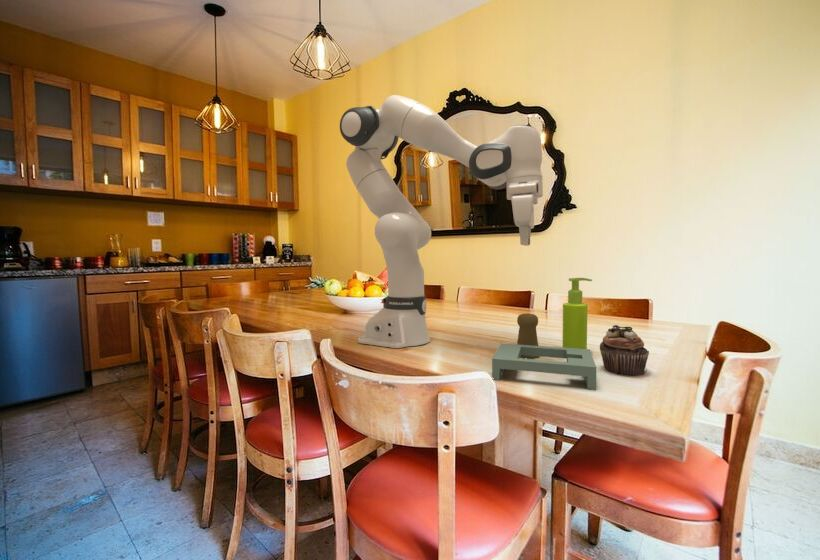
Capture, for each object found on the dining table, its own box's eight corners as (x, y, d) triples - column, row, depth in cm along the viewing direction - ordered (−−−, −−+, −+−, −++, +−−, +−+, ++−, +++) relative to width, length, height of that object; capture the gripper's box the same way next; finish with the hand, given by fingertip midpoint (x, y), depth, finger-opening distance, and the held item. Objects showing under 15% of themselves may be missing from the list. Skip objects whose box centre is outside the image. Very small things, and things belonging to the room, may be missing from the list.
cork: (541, 359, 94) (541, 316, 93) (516, 358, 95) (516, 315, 94) (538, 353, 100) (538, 312, 99) (514, 352, 101) (514, 312, 100)
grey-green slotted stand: (492, 379, 80) (492, 358, 80) (500, 361, 93) (500, 343, 93) (596, 389, 73) (596, 367, 73) (589, 368, 86) (589, 349, 86)
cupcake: (650, 380, 78) (651, 332, 77) (598, 373, 83) (599, 328, 82) (647, 367, 86) (648, 324, 85) (600, 362, 91) (600, 321, 90)
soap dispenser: (594, 356, 96) (596, 278, 94) (567, 356, 96) (568, 278, 94) (584, 350, 102) (585, 276, 100) (559, 350, 102) (559, 277, 100)
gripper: (515, 197, 106) (516, 246, 107) (507, 186, 87) (509, 245, 88) (538, 195, 104) (539, 245, 105) (536, 183, 85) (537, 244, 86)
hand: (525, 245), depth 97 cm, fingers open, 8 cm apart
